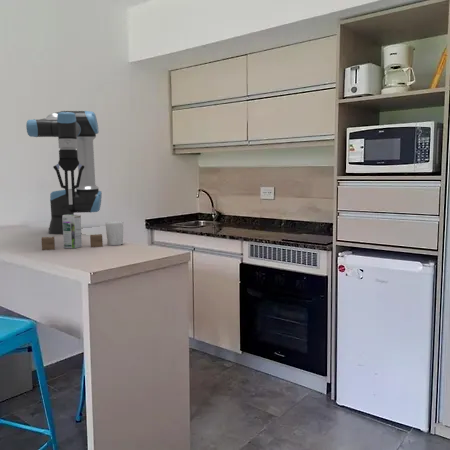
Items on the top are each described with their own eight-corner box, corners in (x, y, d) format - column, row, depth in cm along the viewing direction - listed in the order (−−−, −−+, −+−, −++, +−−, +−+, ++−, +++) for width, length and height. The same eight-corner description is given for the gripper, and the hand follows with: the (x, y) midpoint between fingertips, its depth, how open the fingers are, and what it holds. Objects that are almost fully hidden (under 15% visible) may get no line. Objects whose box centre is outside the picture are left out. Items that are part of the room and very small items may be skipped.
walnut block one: (90, 245, 203) (90, 234, 203) (102, 245, 205) (101, 233, 204) (91, 247, 199) (90, 236, 198) (102, 246, 200) (102, 235, 200)
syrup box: (63, 248, 197) (61, 215, 195) (72, 246, 202) (70, 213, 201) (73, 248, 195) (72, 215, 193) (82, 246, 201) (81, 214, 199)
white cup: (111, 246, 201) (110, 224, 199) (103, 244, 206) (102, 222, 205) (127, 244, 206) (126, 222, 204) (118, 242, 212) (118, 221, 210)
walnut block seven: (42, 248, 197) (42, 236, 197) (54, 247, 199) (54, 236, 198) (42, 250, 192) (41, 238, 192) (54, 249, 194) (53, 237, 193)
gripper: (51, 148, 188) (54, 205, 191) (84, 149, 192) (86, 204, 195) (52, 149, 195) (55, 204, 198) (83, 149, 199) (86, 203, 202)
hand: (70, 204), depth 196 cm, fingers closed
